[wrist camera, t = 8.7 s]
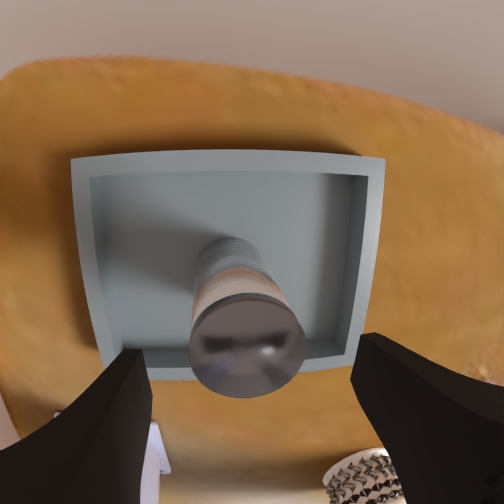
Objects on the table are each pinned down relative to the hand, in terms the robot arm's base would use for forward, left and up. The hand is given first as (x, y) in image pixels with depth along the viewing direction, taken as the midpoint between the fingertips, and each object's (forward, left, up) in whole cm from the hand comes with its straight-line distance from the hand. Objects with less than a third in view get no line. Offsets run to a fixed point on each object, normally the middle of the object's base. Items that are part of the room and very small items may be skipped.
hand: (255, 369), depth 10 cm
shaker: (0, 0, -9) cm, 9 cm away
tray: (0, 0, -9) cm, 9 cm away
